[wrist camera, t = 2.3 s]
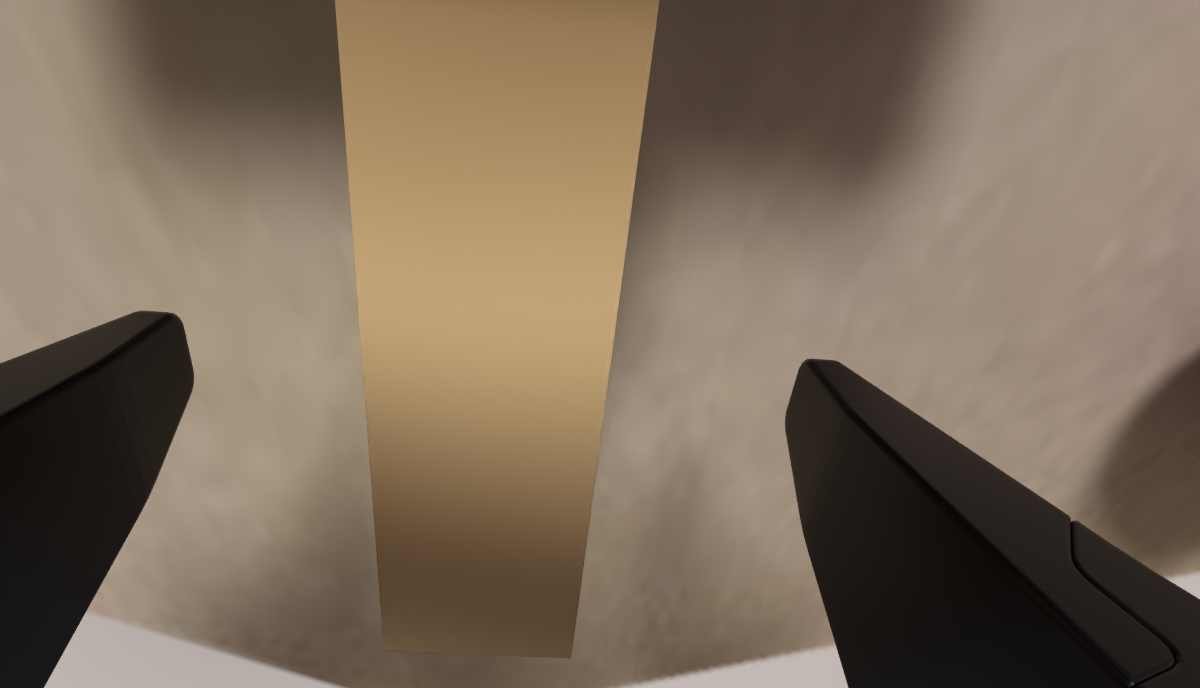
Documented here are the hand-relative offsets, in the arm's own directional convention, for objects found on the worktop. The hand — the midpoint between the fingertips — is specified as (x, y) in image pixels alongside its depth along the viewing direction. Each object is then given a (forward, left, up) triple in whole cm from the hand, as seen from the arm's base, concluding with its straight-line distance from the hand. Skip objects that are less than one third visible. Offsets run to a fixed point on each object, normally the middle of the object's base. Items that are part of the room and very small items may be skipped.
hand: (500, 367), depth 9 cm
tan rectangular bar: (+5, 0, +1) cm, 5 cm away
